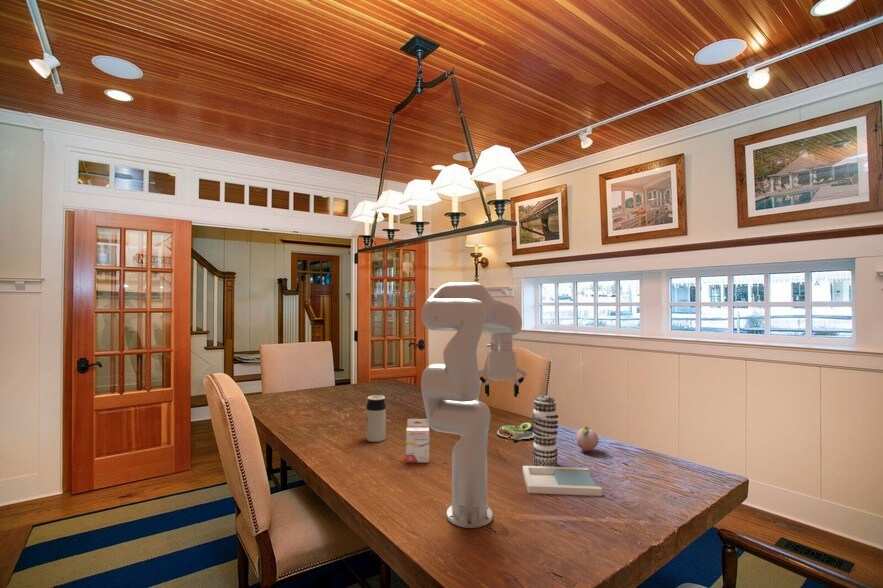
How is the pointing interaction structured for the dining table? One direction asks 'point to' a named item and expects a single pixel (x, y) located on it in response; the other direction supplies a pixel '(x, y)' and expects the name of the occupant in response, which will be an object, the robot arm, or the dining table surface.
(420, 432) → the ink cartridge box
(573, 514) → the dining table surface
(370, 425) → the travel mug
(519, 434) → the plate of avocado toast
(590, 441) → the decorative fruit
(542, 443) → the decorative candle
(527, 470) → the white flat tray
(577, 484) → the cover plate
